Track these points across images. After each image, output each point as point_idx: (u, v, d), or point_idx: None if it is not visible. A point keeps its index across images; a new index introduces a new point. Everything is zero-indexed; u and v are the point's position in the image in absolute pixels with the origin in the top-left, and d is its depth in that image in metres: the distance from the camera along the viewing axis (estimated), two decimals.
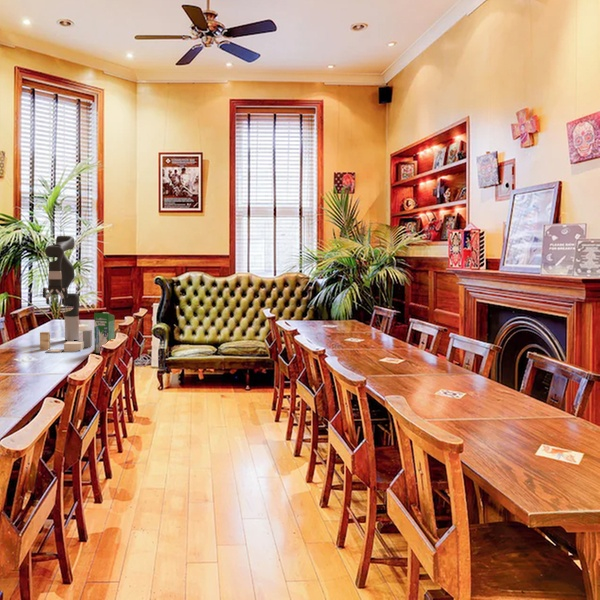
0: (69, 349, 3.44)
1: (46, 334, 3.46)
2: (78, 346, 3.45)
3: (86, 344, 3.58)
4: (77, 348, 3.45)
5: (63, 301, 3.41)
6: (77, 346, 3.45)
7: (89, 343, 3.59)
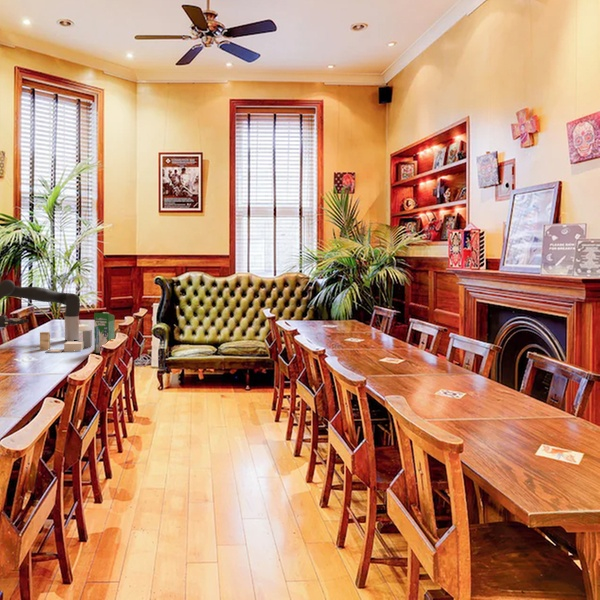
0: (69, 349, 3.44)
1: (46, 334, 3.46)
2: (78, 346, 3.45)
3: (86, 344, 3.58)
4: (77, 348, 3.45)
5: (20, 323, 3.40)
6: (77, 346, 3.45)
7: (89, 343, 3.59)
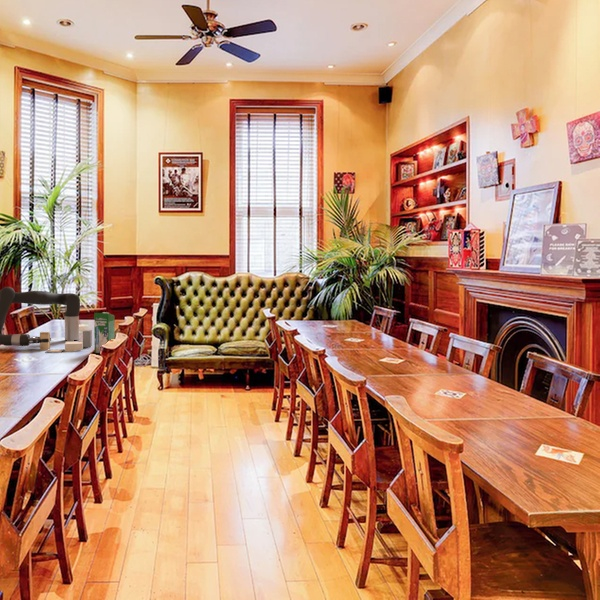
0: (70, 349, 3.44)
1: (46, 334, 3.46)
2: (79, 346, 3.45)
3: (86, 344, 3.58)
4: (78, 348, 3.45)
5: (45, 341, 3.45)
6: (78, 346, 3.45)
7: (89, 343, 3.59)
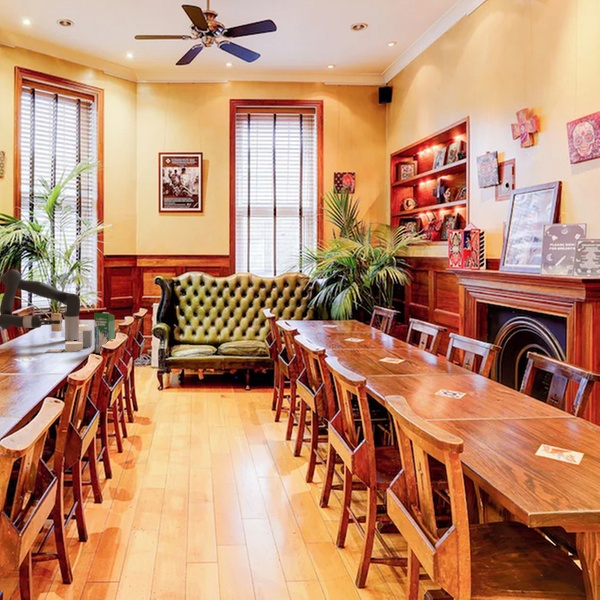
0: (71, 349, 3.44)
1: (57, 316, 3.45)
2: (80, 346, 3.46)
3: (86, 344, 3.58)
4: (79, 348, 3.45)
5: (56, 323, 3.45)
6: (79, 346, 3.45)
7: (89, 343, 3.59)
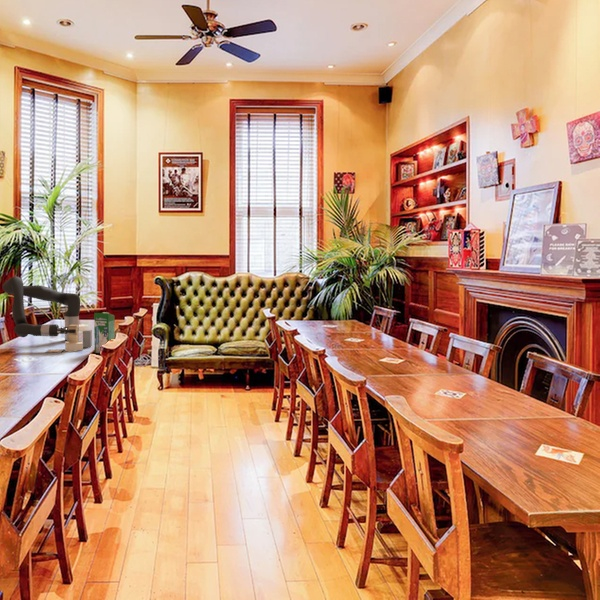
0: (71, 349, 3.44)
1: (74, 327, 3.46)
2: (80, 346, 3.46)
3: (86, 344, 3.58)
4: (79, 348, 3.46)
5: (72, 332, 3.44)
6: (79, 346, 3.46)
7: (89, 343, 3.59)
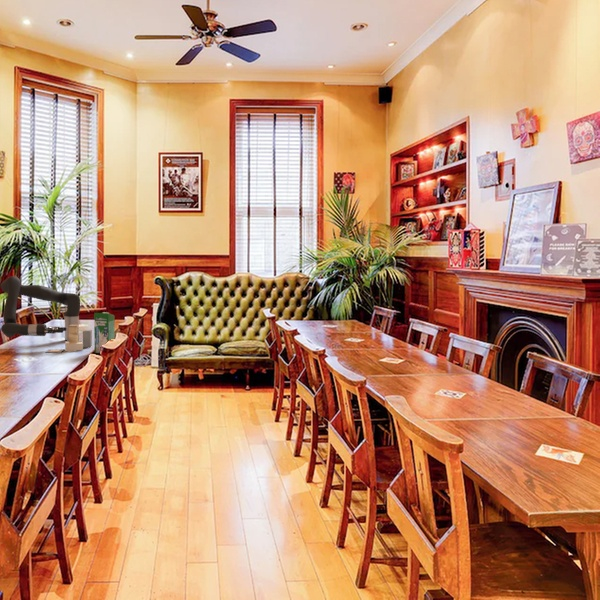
0: (71, 349, 3.44)
1: (75, 327, 3.46)
2: (80, 346, 3.46)
3: (86, 344, 3.58)
4: (79, 348, 3.46)
5: (59, 332, 3.42)
6: (79, 346, 3.46)
7: (89, 343, 3.59)
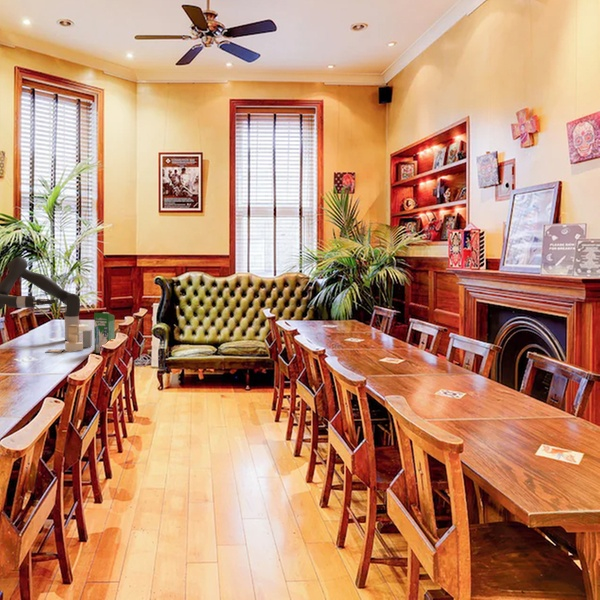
0: (71, 349, 3.44)
1: (74, 327, 3.46)
2: (80, 346, 3.46)
3: (86, 344, 3.58)
4: (79, 348, 3.46)
5: (48, 303, 3.41)
6: (79, 346, 3.46)
7: (89, 343, 3.59)
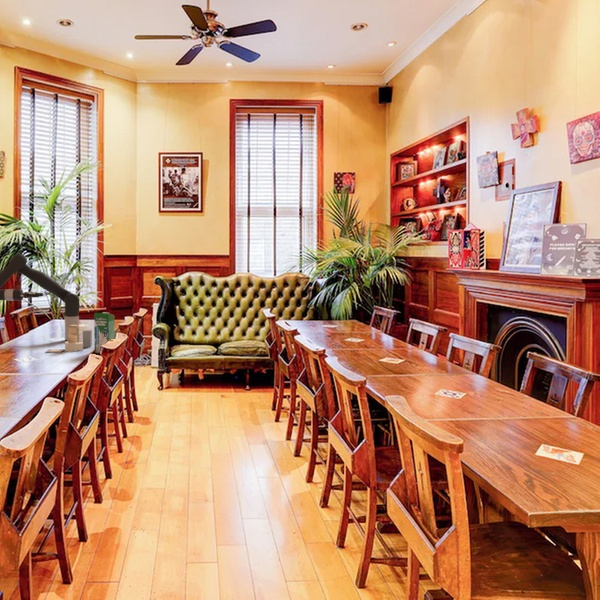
0: (71, 349, 3.44)
1: (74, 327, 3.45)
2: (80, 346, 3.46)
3: (86, 344, 3.58)
4: (79, 348, 3.46)
5: (35, 296, 3.48)
6: (79, 346, 3.46)
7: (89, 343, 3.59)
